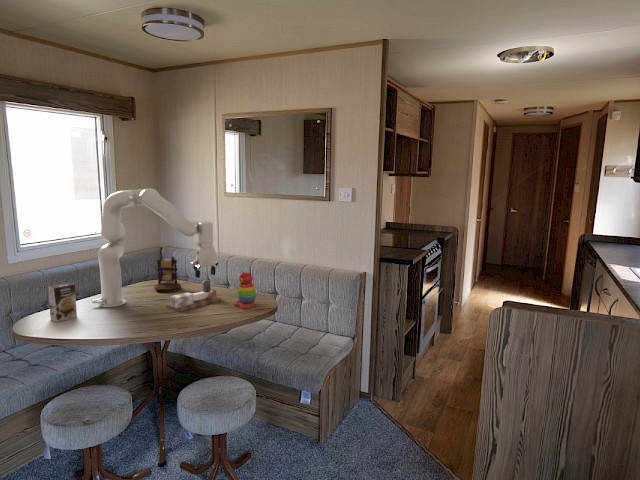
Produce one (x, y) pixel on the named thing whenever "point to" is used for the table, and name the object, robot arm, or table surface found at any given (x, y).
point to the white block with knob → (205, 291)
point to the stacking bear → (246, 292)
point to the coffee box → (62, 302)
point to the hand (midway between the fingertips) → (205, 276)
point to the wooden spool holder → (167, 275)
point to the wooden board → (190, 301)
